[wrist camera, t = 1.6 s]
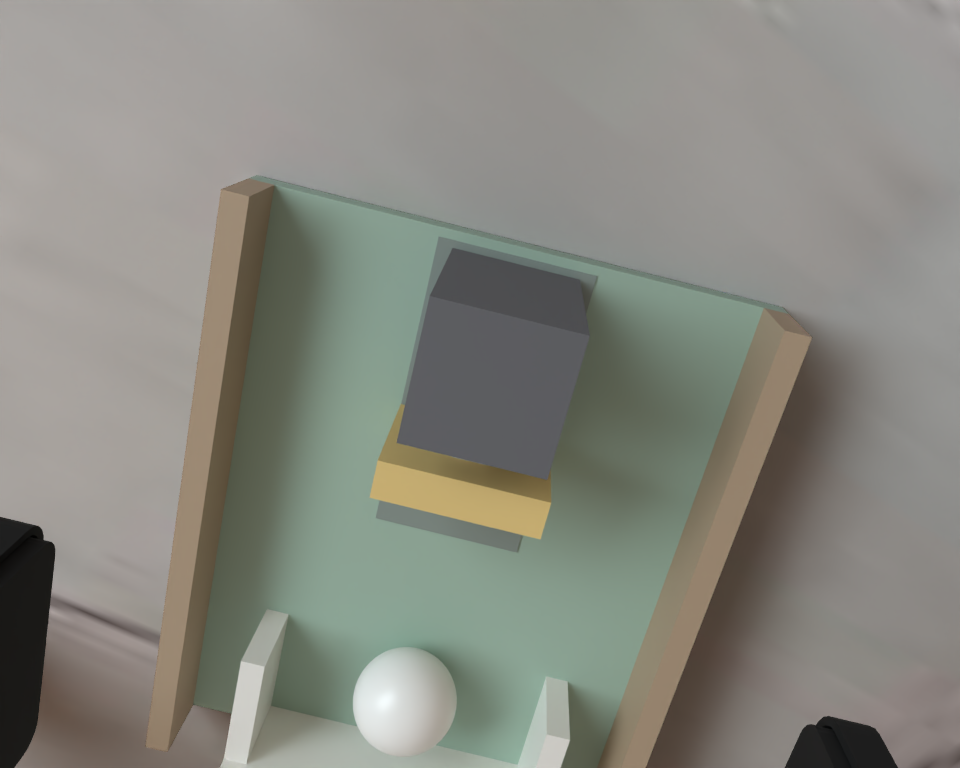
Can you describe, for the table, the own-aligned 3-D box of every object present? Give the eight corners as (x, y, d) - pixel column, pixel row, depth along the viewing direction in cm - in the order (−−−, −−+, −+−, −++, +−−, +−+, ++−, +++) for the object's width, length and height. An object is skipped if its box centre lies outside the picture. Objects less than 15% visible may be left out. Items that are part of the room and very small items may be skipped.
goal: (567, 681, 33) (571, 761, 29) (532, 785, 34) (531, 874, 31) (266, 609, 32) (231, 680, 29) (247, 717, 34) (210, 798, 30)
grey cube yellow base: (595, 283, 27) (609, 340, 22) (540, 472, 30) (540, 569, 24) (436, 243, 27) (409, 290, 22) (393, 437, 30) (358, 525, 24)
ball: (438, 791, 30) (448, 718, 33) (462, 706, 29) (470, 639, 32) (334, 766, 30) (355, 695, 33) (354, 680, 29) (373, 616, 32)
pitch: (782, 307, 28) (812, 337, 25) (604, 787, 35) (610, 857, 32) (256, 175, 28) (221, 189, 25) (180, 685, 35) (145, 746, 32)
